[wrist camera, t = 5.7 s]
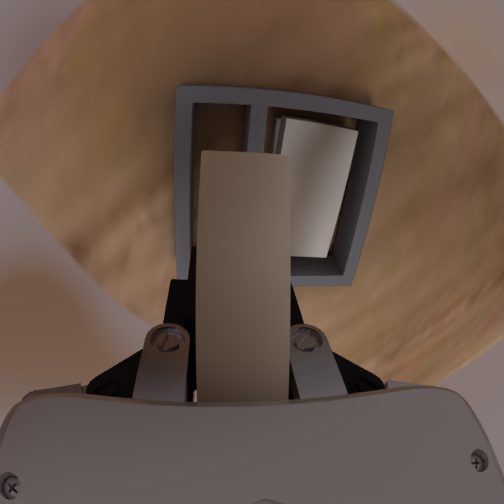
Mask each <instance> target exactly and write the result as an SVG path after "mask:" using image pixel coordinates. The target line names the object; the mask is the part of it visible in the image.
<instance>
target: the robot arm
mask: <svg viewBox="0 0 504 504" xmlns="http://www.w3.org/2000/svg"><path fill="white" fill-rule="evenodd" d="M196 258H197V247H192V249H191V256H190V264H189V272H188V280H183V279H171V282H170V287H169V293H168V298H167V304H166V309H165V315H164V321H163V324H160V325H157V326H155V327H153V328H152V329H151V330H150V331H149V332H148V333H147V335H146V337H145V342H144V346H143V349H141V350H140V351H138V352H137V353H135V354H133V355H132V356H130V357H128V358H127V359H125V360H123V361H122V362H120V363H118V364H117V365H115V366H113V367H112V368H110V369H108V370H107V371H105V372H103V373H102V374H100V375H98V376H97V377H95V378H94V379H93V380H91V381H90V383H89V384H88V385H86V386H82V385H81V383H79V384H73V385H67V386H61V387H55V388H48V389H42V390H34V391H31V392H29V393H27V394H26V395H25V396H24V397H23V399H22V400H21V401H20V402H18V403H17V404H15V405H14V406H13V407H12V408H11V410H10V411H9V412H8V414H7V416H6V417H5V419H4V421H3V423H2V425H1V428H0V504H504V475H503V473H502V470H501V467H500V465H499V463H498V460H497V457H496V455H495V453H494V450H493V448H492V445H491V443H490V441H489V439H488V437H487V435H486V433H485V431H484V429H483V427H482V425H481V423H480V421H479V420H478V418H477V416H476V414H475V413H474V411H473V410H472V408H471V407H470V405H469V404H468V402H467V401H466V400H465V399H464V398H463V397H462V396H461V395H460V394H458V393H457V392H455V391H453V390H450V389H447V388H442V387H436V386H427V385H419V384H411V383H404V382H397V381H391V380H387V382H386V383H384V382H382V381H381V379H380V378H379V377H377V376H376V375H374V374H373V373H371V372H369V371H367V370H365V369H363V368H361V367H360V366H358V365H356V364H354V363H352V362H351V361H349V360H347V359H345V358H343V357H341V356H340V355H338V354H336V353H334V352H333V351H332V350H331V348H330V345H329V343H328V340H327V338H326V336H325V334H324V333H323V332H322V331H321V330H320V329H319V328H317V327H315V326H312V325H308V324H304V322H303V319H302V315H301V312H300V309H299V306H298V303H297V299H296V296H295V293H294V290H293V287H292V284H291V282H290V360H289V394H288V400H280V401H261V402H194V391H195V390H197V381H196Z"/></svg>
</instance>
